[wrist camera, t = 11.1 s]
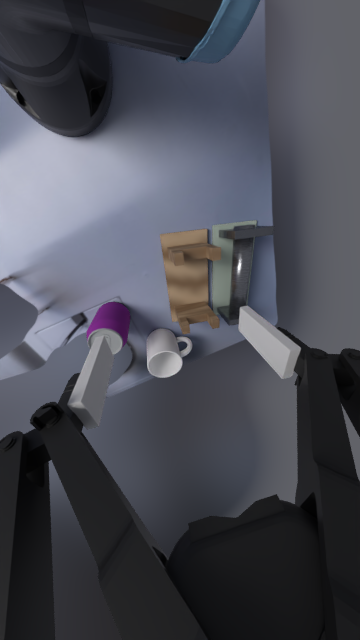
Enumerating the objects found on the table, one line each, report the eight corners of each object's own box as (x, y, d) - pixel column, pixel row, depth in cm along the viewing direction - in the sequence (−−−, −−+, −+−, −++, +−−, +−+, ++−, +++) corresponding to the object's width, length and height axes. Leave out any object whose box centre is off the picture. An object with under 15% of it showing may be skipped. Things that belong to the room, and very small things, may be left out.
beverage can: (131, 327, 45) (127, 358, 34) (100, 327, 43) (86, 359, 33) (130, 300, 41) (125, 325, 31) (96, 299, 39) (79, 326, 29)
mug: (184, 320, 46) (194, 342, 38) (190, 342, 51) (199, 367, 42) (142, 332, 46) (142, 357, 37) (151, 354, 50) (153, 381, 41)
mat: (212, 225, 36) (213, 225, 36) (255, 220, 37) (256, 220, 37) (212, 314, 47) (213, 315, 47) (245, 308, 48) (246, 309, 48)
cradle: (159, 234, 35) (165, 237, 26) (205, 228, 36) (227, 229, 27) (172, 320, 46) (179, 344, 36) (207, 313, 47) (223, 336, 37)
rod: (218, 227, 36) (235, 227, 30) (251, 223, 37) (274, 223, 30) (217, 313, 47) (229, 327, 40) (242, 308, 47) (258, 321, 41)
